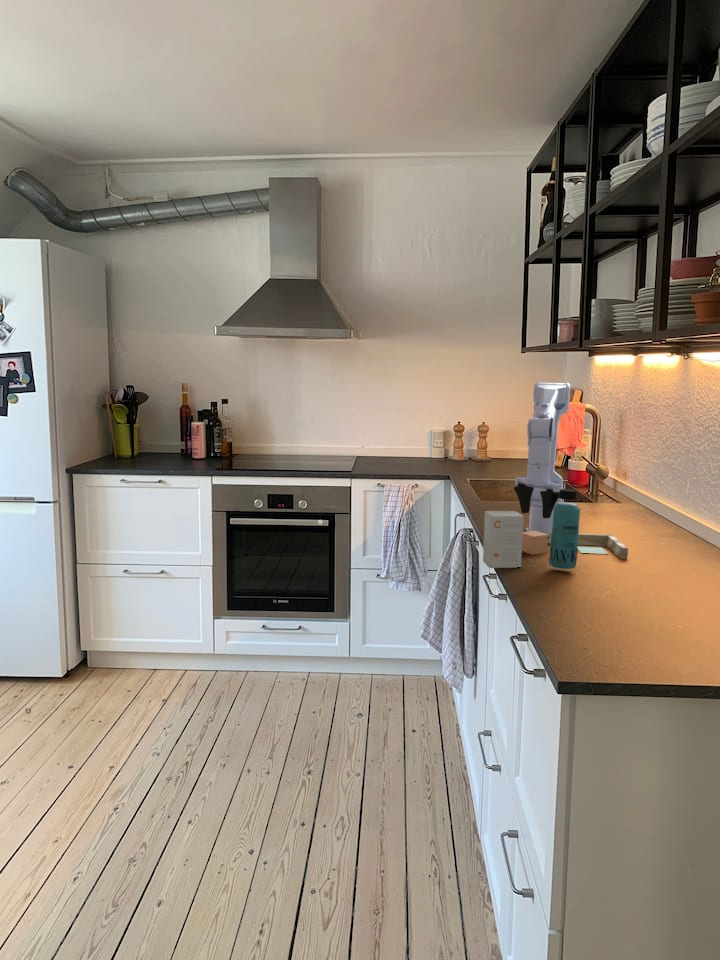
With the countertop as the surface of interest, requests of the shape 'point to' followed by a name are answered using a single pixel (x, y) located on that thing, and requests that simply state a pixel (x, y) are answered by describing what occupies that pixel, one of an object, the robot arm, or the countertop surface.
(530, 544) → the cube
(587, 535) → the l-shaped wall
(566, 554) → the beverage bottle
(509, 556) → the small box
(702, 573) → the countertop surface
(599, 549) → the pad
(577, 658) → the countertop surface
